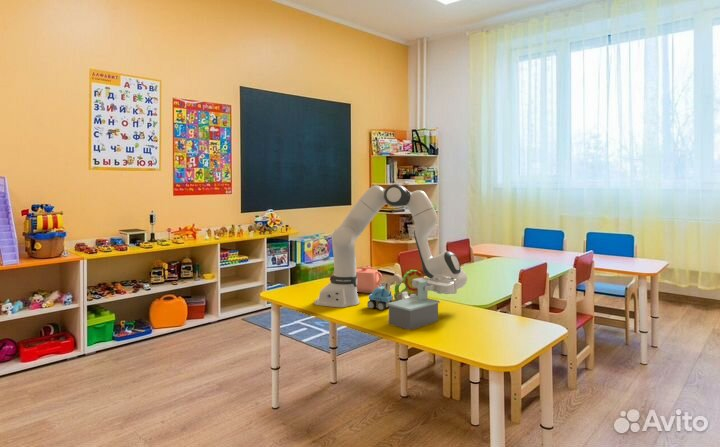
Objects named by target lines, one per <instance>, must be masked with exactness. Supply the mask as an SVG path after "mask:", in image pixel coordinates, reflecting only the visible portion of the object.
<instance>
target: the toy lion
mask: <svg viewBox="0 0 720 447" xmlns="http://www.w3.org/2000/svg"><path fill="white" fill-rule="evenodd" d="M416 278H425V276H424V275H423V273H422V272H420V271H418V270H416V269H410V270H409V271H406V272H405V273H404V275H403V276H402V279H403V281H402V283H401V284H404V285H405V286H404V288H403V289H402V290H401V291H400V286H401V284H399V285H397V283H395V285H394V294H393V299H395V300H396V301H398V300H402V292H407V293H408V296H409V297H410V295H411V294H416V296H418V289H417V288H415V287H413V286H412V280H413V279H416Z"/></svg>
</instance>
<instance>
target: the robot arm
mask: <svg viewBox="0 0 720 447" xmlns="http://www.w3.org/2000/svg"><path fill="white" fill-rule="evenodd" d="M385 205H388V206H390V207H392V208H396V209H397V208H398V209H399V208H404V207H406V208H407V209H408V210H409V213H410V214H411V216H412V220H413V221H414V222H413V223H414V229H413V230H414V231H413V236H414V240H415V243H416V247H417V251H418V254H419V258H420V260H421V261H420V262H421V269H422V272H423V274H424V275H425V276H426V277H424V278H416V279H413V280H412V286H413V287H415V288H417V289H418V282H420V281H427V286H424V287H423V290H424V291H427V292H429V291H430V292H433V293H434V292H435V293H436V294H440V295H441V294H444V295H454V294H457V292H458V290H459V289H462V288H464V286H465V285H466V284H467V282H468V276H467V273H466V272H465V271H464V269H462V268H461V262H460V260H459V257H458V256H457V255H456V254H455V253H454V252H452V251H448V250H447V251H444V252H442V253H440V254H438V255H436V256H435V255H434V256H433V255H432V251H431V248H430V245H429V244H430V243H429V239H428V238H429V236H430V234H431V233H432V231H433V230H434V229H435V228H436V226H437V224H438V220H439V218H438V214H437V211H436V209H435V207H434V204H433V203H432V201H431V200H430V198H429V197H428V195H427V193H426V192H425V191H423V190H421V189H420V190H419V189H417V190H415V191H409V189H407V188H406V187H405V186H404V185H402V184H397V183H394V184H393V183H392V184H390V185H388V186H387V187H386V188H384V187H382V186H380V185H377V184H373V185H372V186H370V187H369V189H367V190H366V191H365V192H364V193H363V195H362V196H361V197H360V198H359V199H358V200H357V202H356V204H354V206H353V207H352V208H351V210H350V211H349V212H348V214H347V216H346V217H345V219H344V220H343V221H342V222H341V224H340V226H338V227H337V228H335V229H334V231H333V232H332V235H331V244H332V245H331V246H332V253H333V269H334V270H333V273H332V274H331V275H330V277H329V280H330V282H329V283H328V284H327V285H325V287H323V288H322V289H321V290H320V292H319V294H318V296H319V297H318V298H316V299H315V301H314V305H315V306H322V307H330V308H331V307H332V308H341V309H342V308H347V307H353V306H356V305H359V304H360V303H361V302H360V299H359V293H357V275H356V269H357V257H356V244H355V243H356V241H357V240H358V239H359V237H360V236H361V235H362V233H364V231H365V230H366V228H367V227H368V226H369V224H370V223H371V222H372V220H374V218H375V217H376V215H377V214H378V213H379V212H380V210H381V209H382V208H383V207H384V206H385Z"/></svg>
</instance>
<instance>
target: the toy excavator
mask: <svg viewBox="0 0 720 447" xmlns="http://www.w3.org/2000/svg"><path fill="white" fill-rule="evenodd" d="M402 278H403V276H402V275H401V274H399V273H396V274H393V276H391V277H389V278H387V279H386V280H385V282H384V286H382V285H381V287H378V288H376V289H374V290H373V292H372V293H369V295H368V299H369V300H368V301H367V308H368V309H375V308H376V309H378V310H380V311H381V312H382V311H384V310H386V309H387V308H389V306H388V305H387V303H390V302H393V300H394V295H392V291H391V284H393V283H394V282H396V283H397V285H399V284H400V285H401V284H403V283H402V281H403V279H402ZM396 283H395V284H396Z"/></svg>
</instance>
